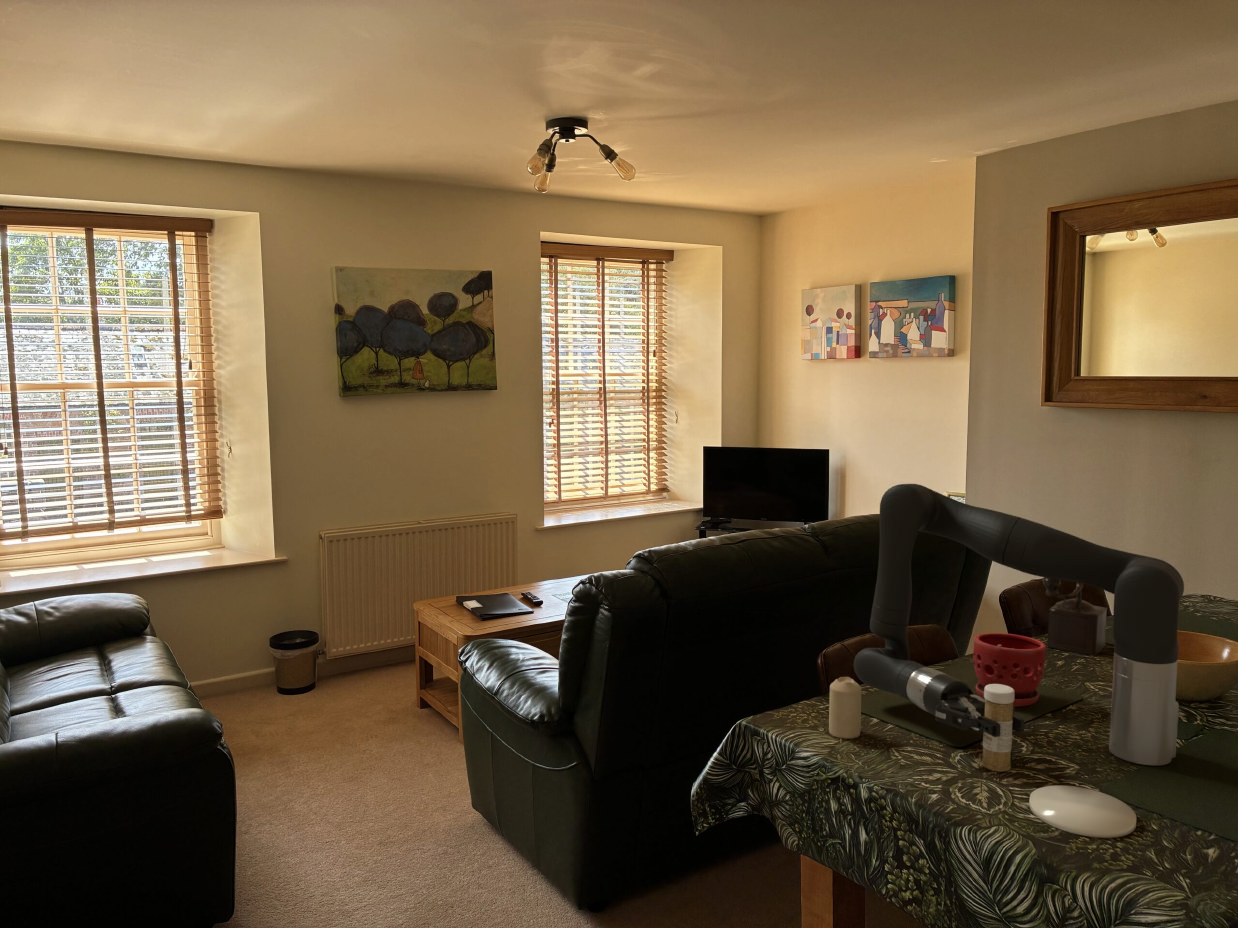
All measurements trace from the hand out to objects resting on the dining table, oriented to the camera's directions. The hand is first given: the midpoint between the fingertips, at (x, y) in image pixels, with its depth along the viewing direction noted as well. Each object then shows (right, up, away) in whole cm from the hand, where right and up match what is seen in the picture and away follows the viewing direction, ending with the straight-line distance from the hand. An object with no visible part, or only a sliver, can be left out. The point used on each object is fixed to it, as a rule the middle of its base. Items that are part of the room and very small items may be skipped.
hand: (1010, 728), depth 147 cm
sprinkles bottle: (-1, -7, +3) cm, 8 cm away
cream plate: (+5, -9, -13) cm, 16 cm away
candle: (-22, -6, +18) cm, 29 cm away
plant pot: (+14, -4, +34) cm, 37 cm away
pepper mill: (+43, -1, +66) cm, 79 cm away
